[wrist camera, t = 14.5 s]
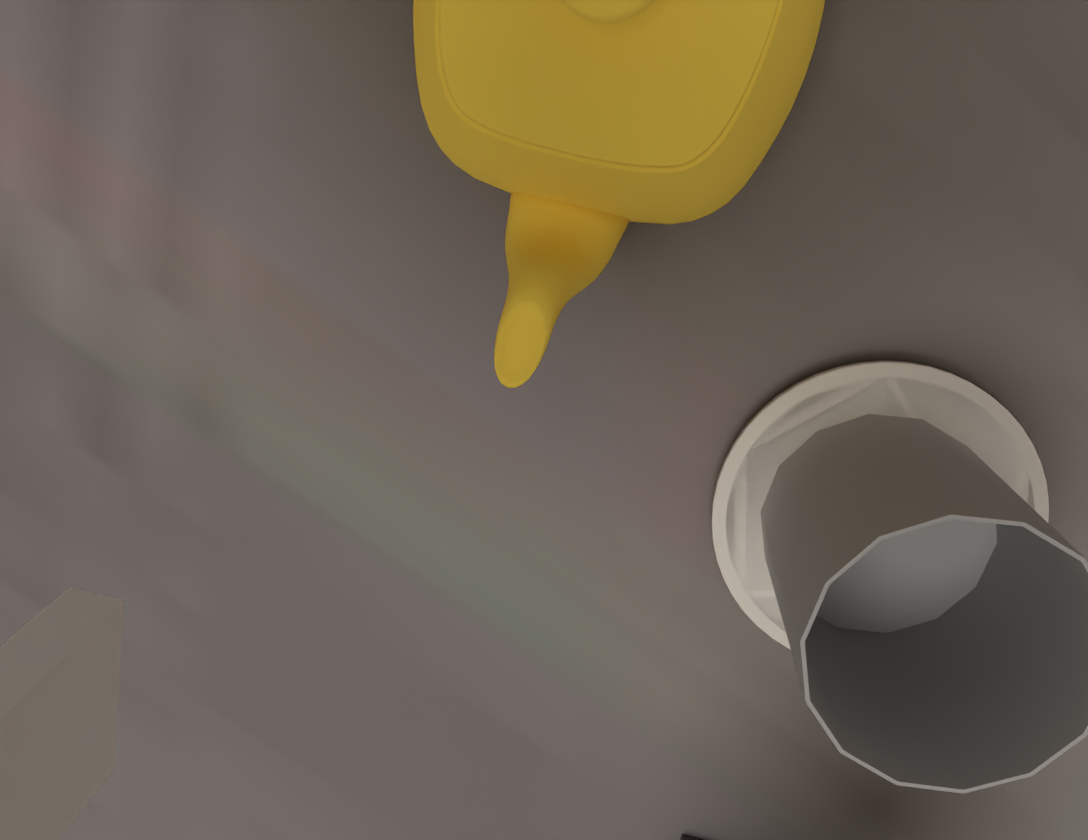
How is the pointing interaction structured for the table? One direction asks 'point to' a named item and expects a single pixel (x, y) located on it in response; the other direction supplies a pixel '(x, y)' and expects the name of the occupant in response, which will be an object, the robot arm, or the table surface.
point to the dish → (833, 403)
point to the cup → (926, 607)
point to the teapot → (602, 124)
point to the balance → (688, 838)
